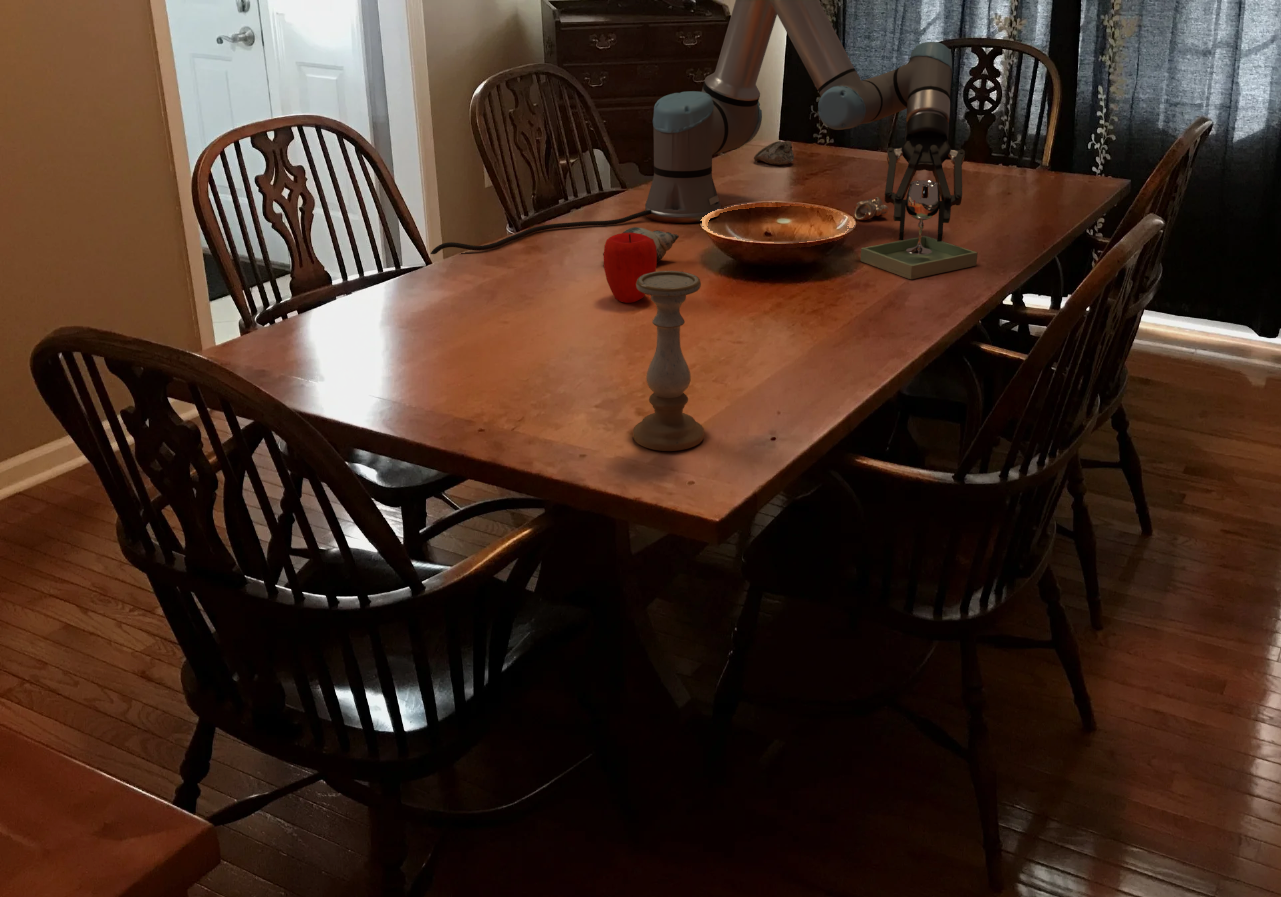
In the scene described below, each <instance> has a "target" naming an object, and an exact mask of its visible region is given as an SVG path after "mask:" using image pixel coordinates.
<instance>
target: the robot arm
mask: <svg viewBox="0 0 1281 897" xmlns="http://www.w3.org/2000/svg"><path fill="white" fill-rule="evenodd" d="M777 17H778V19H779V21H780V23H781V24H782V26H783V28H784V31H785V32H786V34H787V36H788V37H789V39H790V41H791V43H792V45H793V47H794V49H795V51H796V53H797V54H798V56H799V58H800V60H801V63H802V64H803V66H804V67H805V69H806V72H807V74H808V75H809V77H810V78H811V79H810V80H812V82H813V85H814V86H815V88H816V90H817V93H818V94H819V96H820V98H819V100H818V103H817V104H818V105H817V109H818V116H819V119H820V120H821V122H822V123H823V124H824V125H825V126H826V127H828V128H829V129H831V130H834V131H841V130H850V129H853V128H857V127H858V126H860V125H863V124H871V123H874V122H878V121H881V120H883V119H884V118H887V117H890V116H892V115H895V114H898V113H899V112H902V111H904V110H906V115H905V116H906V119H905V120H906V123H905V132H904V142H903V144H902V145H901V147H900V148H893V147H891V146H890V147H888V148H887V150H886V161H887V165H888V167H887V175H886V180H885V181H886V183H885V188H884V189H885V190H884V203H887V204H889V203H890V204H892V205H893V221H894V222H899V232H898V241H901V240H904V236H905V224H906V223H905V222H906V196H907V193H908V190H909V186H910V184H911V182H912V181H913V179H914V177H915V175H916V173H917V171H918V172H920V171H921V172H922V171H928V172H932V175H933V177H934V180H935V182H937V183H938V185H939V192H940V206H939V210H938V219H937V220H938V221H937V235H936V236H937V237H936V239H937V242H942V241H943V234H944V224H949V223H950V221H951V214H952V213H951V212H952V207H953V206H960V205H961V204H962V200H963V164H964V162H965V156H966V151H965V150H964V149H962V148H960V149H959V150H955V149H951V145H950V144H949V134H950V133H949V132H950V130H949V129H950V114H951V90H952V89H951V87H952V77H953V71H954V70H953V55H952V51H951V50H950V48H949V47H947V46H946V45H945V44H944V43H941V42H938V41H925V42H921V43H919V44H917V45H916V46H915V47H914V48H913V49H912V50H911V53H910V56H909V59H908V60H909V62H908V63H905V64H904V65H901V66H900V67H897V68H895V69H892V70H890V71H887V72H884V73H882V74H880V75H876V76H873V77H869V78H866V79H861V78H860V76H859V74H858V72H857V70H856V69H855V67H854V65H853V63H852V61H851V59H850V58H849V57H850V56H848V54H847V51H846V50H845V48H844V46H843V44H842V42H841V41H840V38H839V36H838V35H837V32H836V31H835V29H834V27H833V25H832V23H831V21H830V19H829V18H828V15H827V13H826V11H825V9H824V8H823V6H822V4H821V2H820V0H735V2H734V4H733V8H732V10H731V15H730V19H729V22H728V25H727V29H726V32H725V36H724V39H723V43H722V46H721V50H720V53H719V58H718V60H717V64H716V66H715V70H714V72H713V73H711V74H708V75H707V76H706V77H705V78H704V82H703V85H702V89H701V91H698V90H697V91H695V90H692V91H681V92H673V93H670V94H667V95H664V96H662V97H660V98H659V99H657V101H656V102H655V104H654V107H653V117H652V126H653V178H652V182H651V185H650V187H649V188H650V189H649V191H648V195H647V197H646V200H645V204H644V210H643V211H640V212H639V211H638V212H637V213H634V214H629V215H627V216H624V217H621V218H617V219H609V220H607V219H606V220H587V221H573V222H560V223H559V222H558V223H549V224H544V225H537V226H535V227H531V228H528V229H525V230H523V231H520V232H518V233H515V234H513V235H510V236H507V237H505V238H502V239H500V240H498V241H496V242H495V241H494V242H492V243H489V244H483V245H472V244H468V243H467V244H466V243H461V242H452V241H451V242H450V241H449V242H443V243H441V244H438V245H437V246H436V247H434V249H432V250H431V251H430V255H436V254H438V253H439V252H440V251H442V250H443V249H447V248H456V249H463V250H467V251H468V250H470V251H477V252H478V251H479V252H481V251H486V250H487V251H488V250H492V249H495V248H499V247H502V246H503V245H505V244H508V243H511V242H513V241H516V240H518V239H521V238H523V237H526V236H528V235H531V234H533V233H537V232H542V231H547V230H553V229H563V228H564V229H565V228H576V227H592V226H593V227H595V226H596V227H597V226H598V227H599V226H611V225H618V224H623V223H627V222H630V221H632V220H635V219H638V218H642V217H647V218H649V219H650V220H654V221H658V222H663V223H669V224H671V223H672V224H693V223H701V222H700V220H701V219H702V217H704V216H705V215H707V214H708V213H710V212H712V211H715V210H717V209H720V208H722V207H721V206H722V204H721V202H720V198H719V195H718V191H717V189H716V185H715V181H714V179H713V156H714V155H718V154H721V153H724V152H727V151H735V150H737V149H739V148H741V147H744V146H745V145H746V144H748V143H750V142H751V141H752V140H753V139H754V138H755V137H756V136H757V134H758V133H759V130H760V129H761V126H762V122H763V121H762V120H763V111H762V109H761V108H760V106H761V103H760V101H759V100H760V97H761V92H760V90H759V88H758V86H757V81H758V78H759V74H760V71H761V68H762V66H763V62H764V59H765V56H766V52H767V49H768V45H769V42H770V39H771V36H772V33H773V29H774V26H775V23H776V20H777ZM901 157H903V158H904V159H905V161H906V162H907V168H906V170H905V172H904V174H903V176H902V179H901V181H900V184H899V185H898V188H897V190H896V193H895V192H893V191H894V184H895V176H896V168H897V163H898V162H900V159H901ZM948 158H950V163H951V164H952V165H953V194H951V192H950V188H949V185H948V182H947V178H946V175H945V171H944V168H943V163H944V162H945V161H946V160H947V159H948Z"/></svg>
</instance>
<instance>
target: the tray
mask: <svg viewBox="0 0 1281 897" xmlns="http://www.w3.org/2000/svg"><path fill="white" fill-rule="evenodd" d="M918 240H919V236H916V237H912V238H906V239H903V240H897V241H891V242H885V243H881V244H875V245H870V246H866V247H861V248H860V260H859V261H860V262H862V263H864V264H867V265H870V266H872V267H875V268H878V269H880V270H883V271H886V272H889V273H892V274H893V275H894V274H895V275H897V276H900V277H903V278H905V279H908V280H916V279H919V278H920V279H921V278H924V277H925V278H926V277H929V276H933V275H938V274H942V273H948V272H954V271H956V270H962V269H967V268H972V267H975V266H976V267H977V261H978V252H977V251H974V250H971V249H968V248H965V247H962V246H959V245H956V244H952V243H949V242H947V241H943V240H942V242H937V238H934V237H932V236H928V235H921V245H922V246H923V247H924V248H928V249H930V250H932V252H931V253H930V254H924V255H917V254H911V253H908V252H907V251H906V249H908V248H911V247H916V246H917V244H918Z"/></svg>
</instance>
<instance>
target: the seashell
mask: <svg viewBox="0 0 1281 897" xmlns="http://www.w3.org/2000/svg"><path fill="white" fill-rule="evenodd" d="M622 233H638V234H642V235H645V236H647V237H649V238H651V239H653V240H654V242H655V245H656V251H657V263H659V262H661V261H662V260H663V258H664V257H665V255H666V254H667V251H669V250H671V249H672V247H673V244H675V243H676V241H677V240H678V239H679V235H678V234H676V233H672V232H668V231H667V232H665V231H662V230H653V231H652V230H649V229H647V228H644V227H637V226H636V227H635V226H634V227H630V228H628V229H626V230H624V231H623V232H622ZM602 256H603V257H604V252H602Z"/></svg>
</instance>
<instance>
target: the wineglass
mask: <svg viewBox="0 0 1281 897" xmlns="http://www.w3.org/2000/svg"><path fill="white" fill-rule="evenodd" d="M905 200H906V209H905V211H906V212H907V214H908V215H909V216H910V217H911V218H913V219H915V220H917V221H918V220H919V222H918V223H917V224H918V225H917V229H918V237H919V240H918V244H917V246H916V247H911V248H908V249H906V251H907V252H908V253H911V254H917V255H924V254H930V253H931V252H932V250H930V249H928V248H924V247H923V246H922V245H921V237H922V236H923V235H922V234H923V231H924V228H925V223H924V221H927V220H929V219H932V218H934V217H935V216H936V215H937V213H939V206H940V201H941V196H940V192H939V185H938V183H937V182H936V181H934V180H927V179H919V180H912V181H911V183H910V186H909V188H908V190H907V193H906V197H905Z"/></svg>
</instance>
